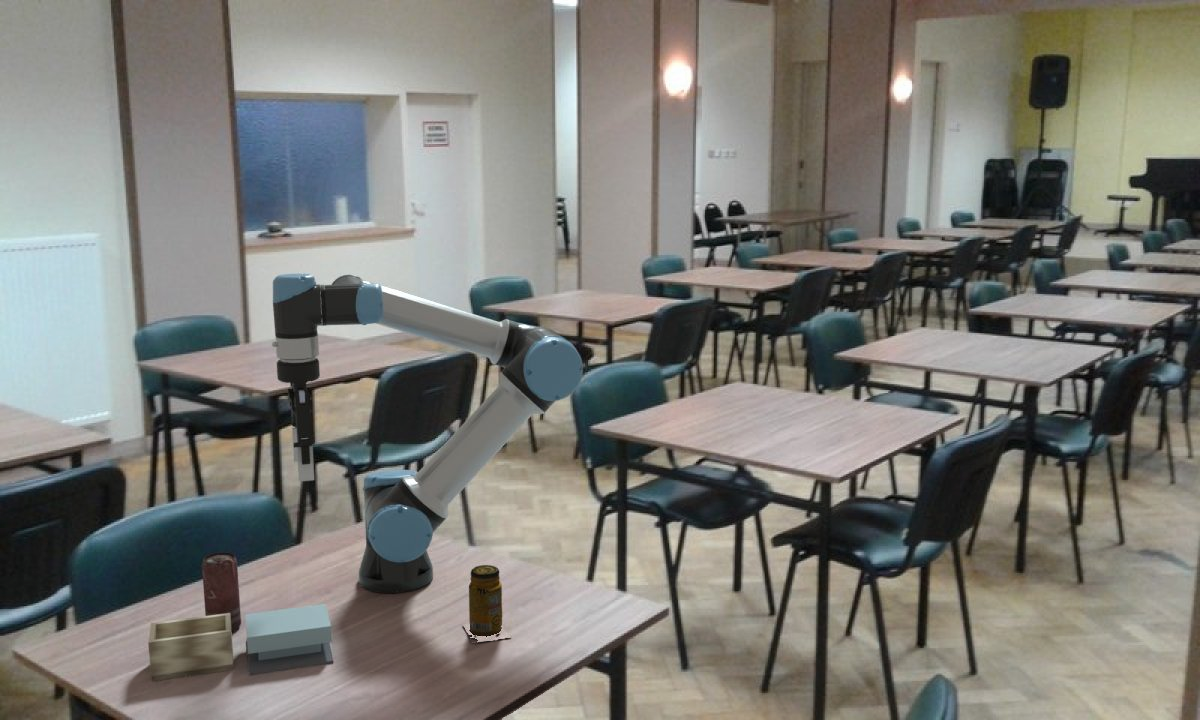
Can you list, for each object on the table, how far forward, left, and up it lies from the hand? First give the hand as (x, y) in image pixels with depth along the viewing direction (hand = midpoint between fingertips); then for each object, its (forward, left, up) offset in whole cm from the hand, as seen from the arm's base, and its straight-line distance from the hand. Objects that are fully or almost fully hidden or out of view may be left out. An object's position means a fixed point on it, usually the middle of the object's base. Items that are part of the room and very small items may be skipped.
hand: (303, 470), depth 203 cm
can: (+16, +1, -29) cm, 33 cm away
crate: (+21, +15, -29) cm, 39 cm away
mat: (+5, +15, -29) cm, 33 cm away
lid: (+5, +15, -26) cm, 30 cm away
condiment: (-30, +19, -29) cm, 46 cm away
